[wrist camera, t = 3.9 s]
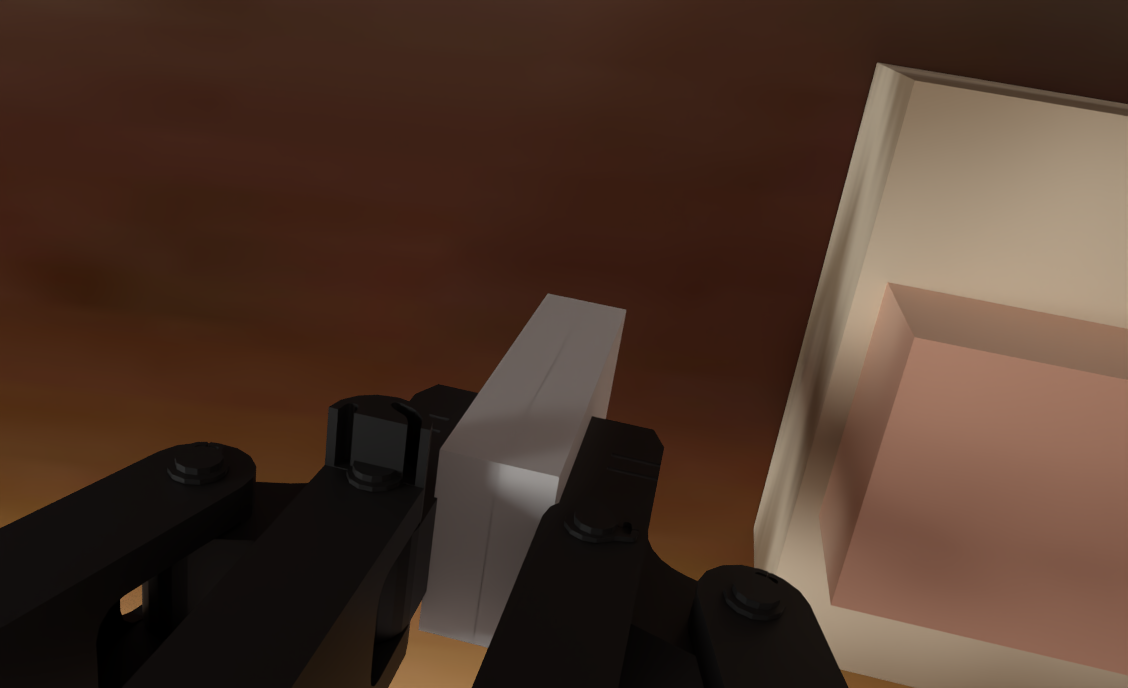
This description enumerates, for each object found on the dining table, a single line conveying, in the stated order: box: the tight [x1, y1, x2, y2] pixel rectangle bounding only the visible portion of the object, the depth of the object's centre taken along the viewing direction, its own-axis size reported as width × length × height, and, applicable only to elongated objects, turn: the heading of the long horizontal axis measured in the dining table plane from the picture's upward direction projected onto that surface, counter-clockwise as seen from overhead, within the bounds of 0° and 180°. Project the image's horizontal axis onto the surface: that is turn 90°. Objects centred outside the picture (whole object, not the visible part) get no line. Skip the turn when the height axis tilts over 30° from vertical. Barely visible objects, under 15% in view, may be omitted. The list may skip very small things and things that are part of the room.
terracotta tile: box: [819, 282, 1128, 675], centre depth 16 cm, size 5×5×3 cm
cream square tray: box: [754, 62, 1128, 688], centre depth 19 cm, size 12×12×5 cm
